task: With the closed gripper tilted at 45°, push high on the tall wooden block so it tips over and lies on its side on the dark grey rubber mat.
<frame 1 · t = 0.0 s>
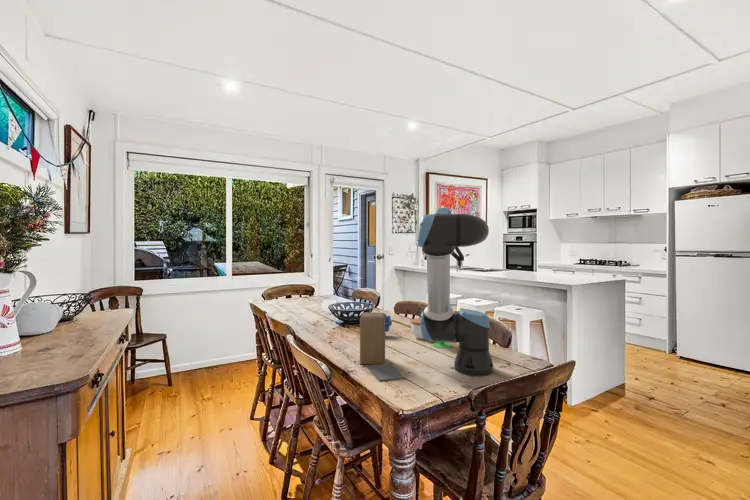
hand: (444, 269, 197), 36 cm above the table, tool tilted 35°, fingers open, 13 cm apart
wooden block: (372, 361, 158), on the table
lidded bowl: (422, 337, 196), on the table
grapes: (381, 335, 200), on the table
cup: (441, 345, 182), on the table
rubber mat: (385, 372, 144), on the table
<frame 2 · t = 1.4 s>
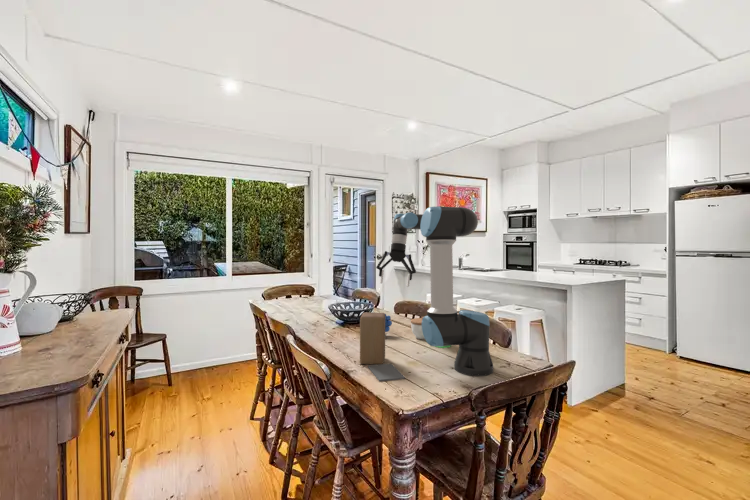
hand: (394, 284, 187), 29 cm above the table, tool pointing down, fingers open, 13 cm apart
nothing on the table moved.
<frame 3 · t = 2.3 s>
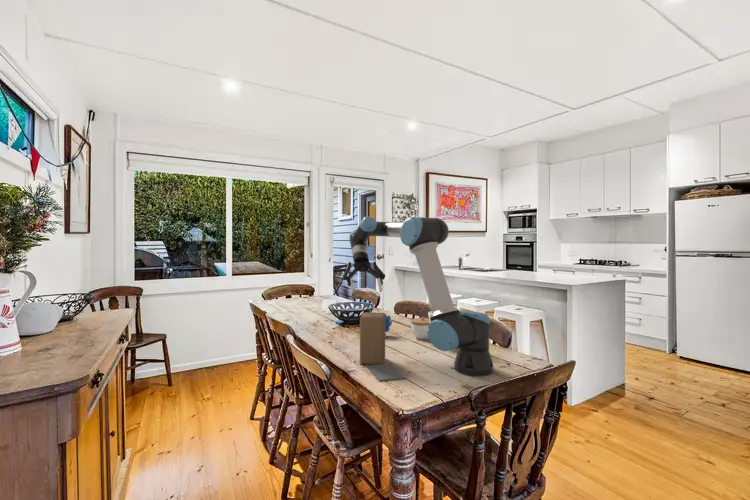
hand: (366, 290, 170), 28 cm above the table, tool tilted 45°, fingers open, 13 cm apart
nothing on the table moved.
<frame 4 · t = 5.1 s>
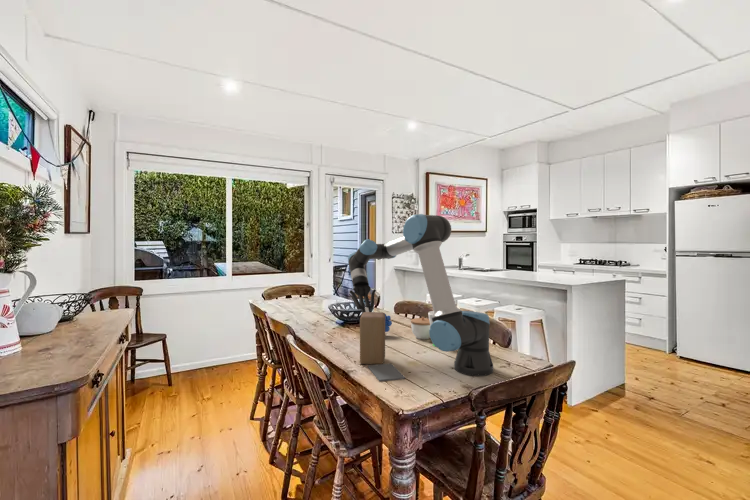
hand: (368, 321, 163), 16 cm above the table, tool tilted 45°, fingers closed
wooden block: (372, 361, 158), on the table, touching gripper
everything else where it was.
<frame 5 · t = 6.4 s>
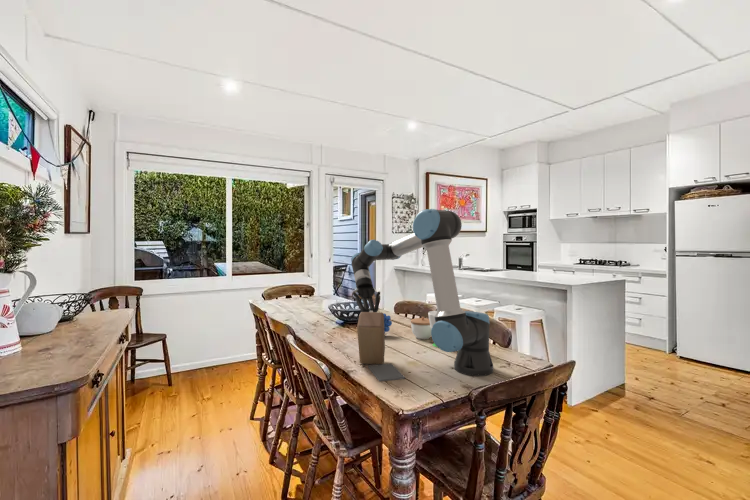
hand: (373, 325, 156), 16 cm above the table, tool tilted 45°, fingers closed
wooden block: (372, 356, 157), point 2 cm above the table
everything else where it was.
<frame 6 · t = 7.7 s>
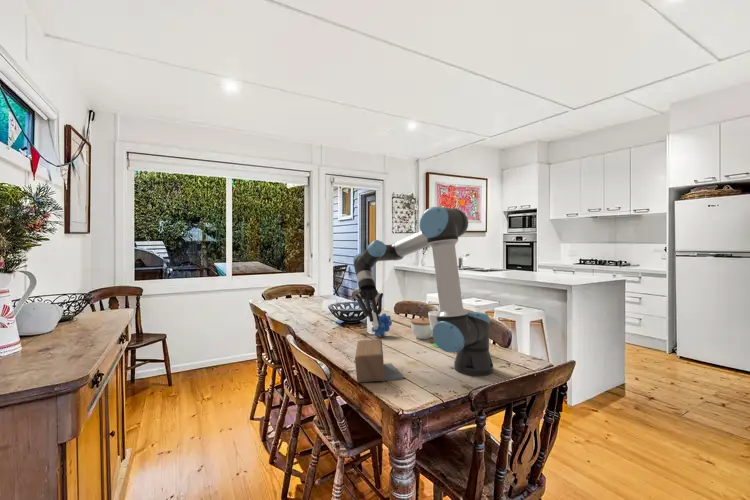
hand: (376, 327, 152), 15 cm above the table, tool tilted 45°, fingers closed
wooden block: (370, 350, 153), point 6 cm above the table, touching rubber mat
everything else where it was.
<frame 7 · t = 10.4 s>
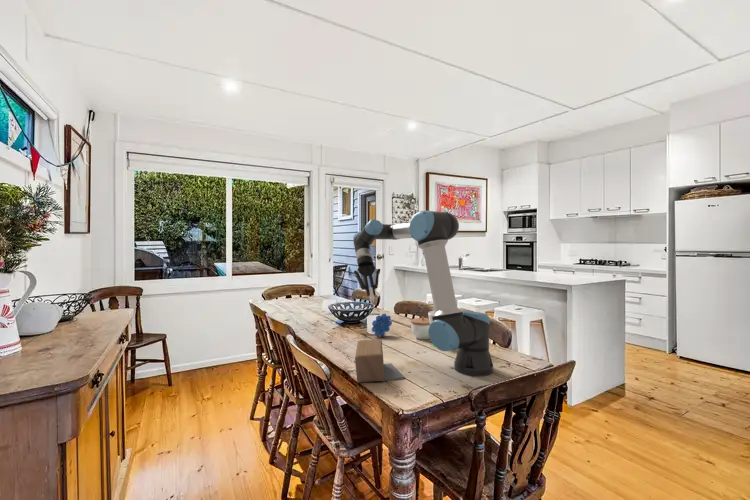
hand: (372, 301, 164), 24 cm above the table, tool tilted 40°, fingers closed
wooden block: (370, 350, 153), point 6 cm above the table, touching rubber mat
everything else where it was.
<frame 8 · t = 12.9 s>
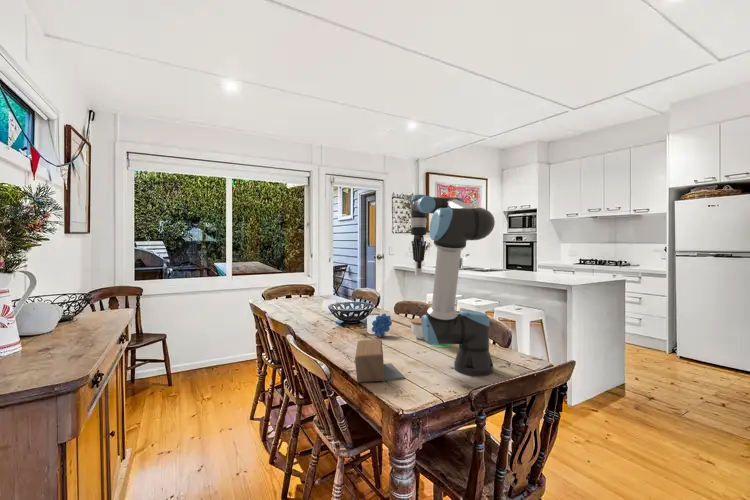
hand: (418, 275, 181), 34 cm above the table, tool pointing down, fingers closed
nothing on the table moved.
at the end: wooden block tilted 91°; wooden block inside the target area (5.8 cm from its centre), point 5.8 cm above the table; wooden block touching rubber mat, table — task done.
